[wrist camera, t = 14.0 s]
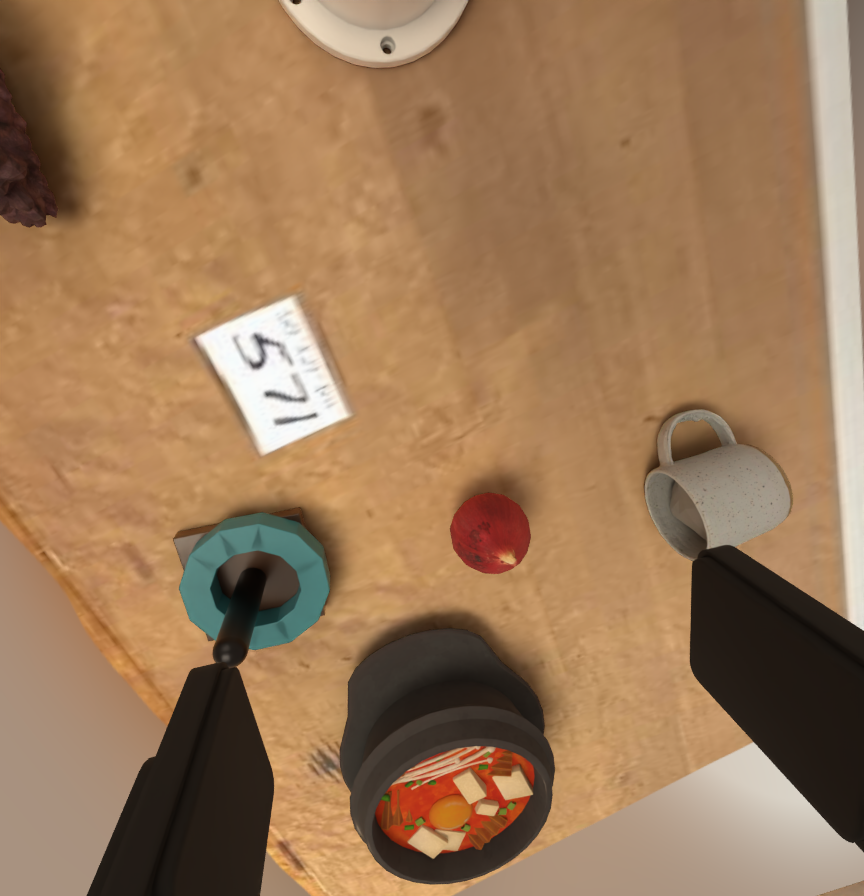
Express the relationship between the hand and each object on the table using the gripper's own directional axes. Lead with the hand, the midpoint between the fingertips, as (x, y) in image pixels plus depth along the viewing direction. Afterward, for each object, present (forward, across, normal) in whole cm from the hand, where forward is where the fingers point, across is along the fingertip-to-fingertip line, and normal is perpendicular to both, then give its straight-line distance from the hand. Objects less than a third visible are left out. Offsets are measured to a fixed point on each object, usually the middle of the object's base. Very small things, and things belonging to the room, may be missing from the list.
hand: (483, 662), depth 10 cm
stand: (+28, +12, +12) cm, 33 cm away
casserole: (+28, 0, +32) cm, 43 cm away
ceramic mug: (+28, -24, +11) cm, 39 cm away
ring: (+27, +11, +12) cm, 32 cm away
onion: (+28, -6, +11) cm, 31 cm away
